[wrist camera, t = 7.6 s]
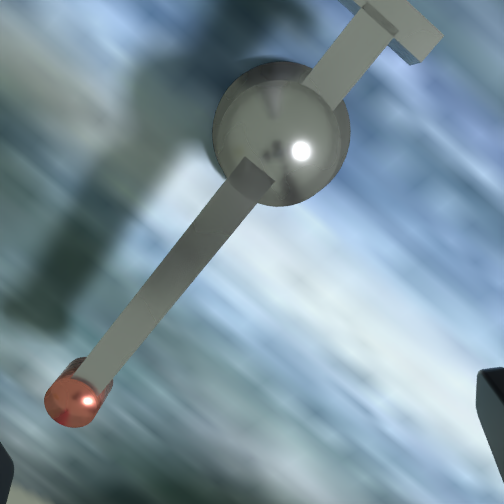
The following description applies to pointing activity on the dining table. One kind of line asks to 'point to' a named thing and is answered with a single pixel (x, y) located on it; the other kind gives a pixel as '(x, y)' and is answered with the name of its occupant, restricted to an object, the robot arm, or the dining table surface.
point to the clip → (250, 182)
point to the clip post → (287, 73)
